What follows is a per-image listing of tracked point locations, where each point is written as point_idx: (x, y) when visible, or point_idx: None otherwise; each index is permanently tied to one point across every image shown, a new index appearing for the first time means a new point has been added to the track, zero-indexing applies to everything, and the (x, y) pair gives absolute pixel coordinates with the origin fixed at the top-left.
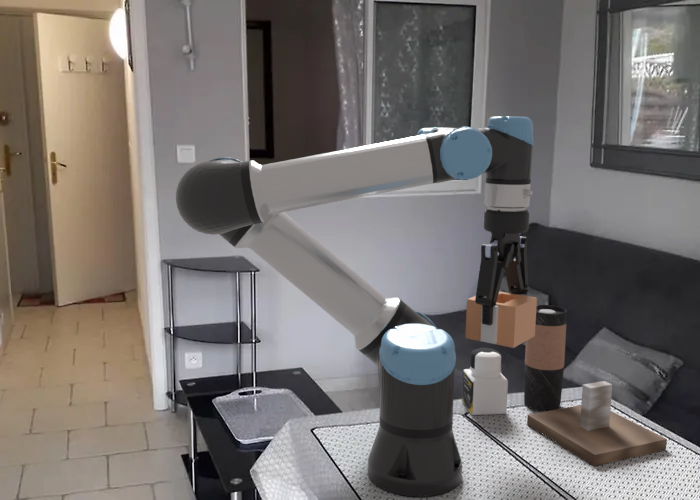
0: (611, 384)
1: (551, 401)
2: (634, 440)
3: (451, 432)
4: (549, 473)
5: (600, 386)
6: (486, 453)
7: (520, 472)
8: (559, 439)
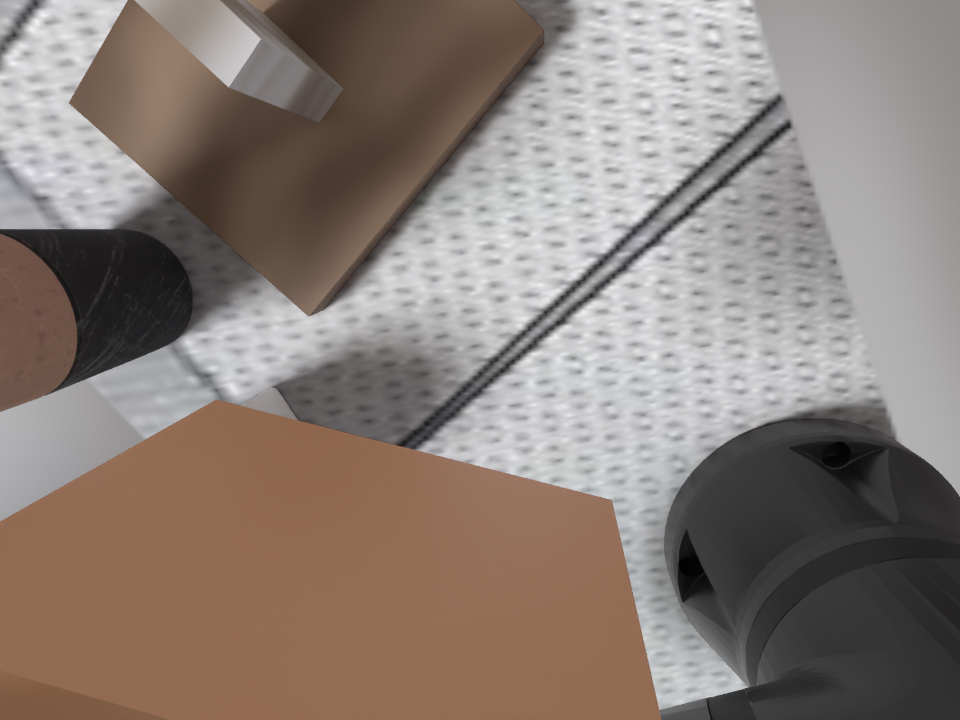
0: None
1: (151, 256)
2: None
3: (896, 527)
4: (655, 180)
5: None
6: (589, 387)
7: (681, 268)
8: (423, 184)
